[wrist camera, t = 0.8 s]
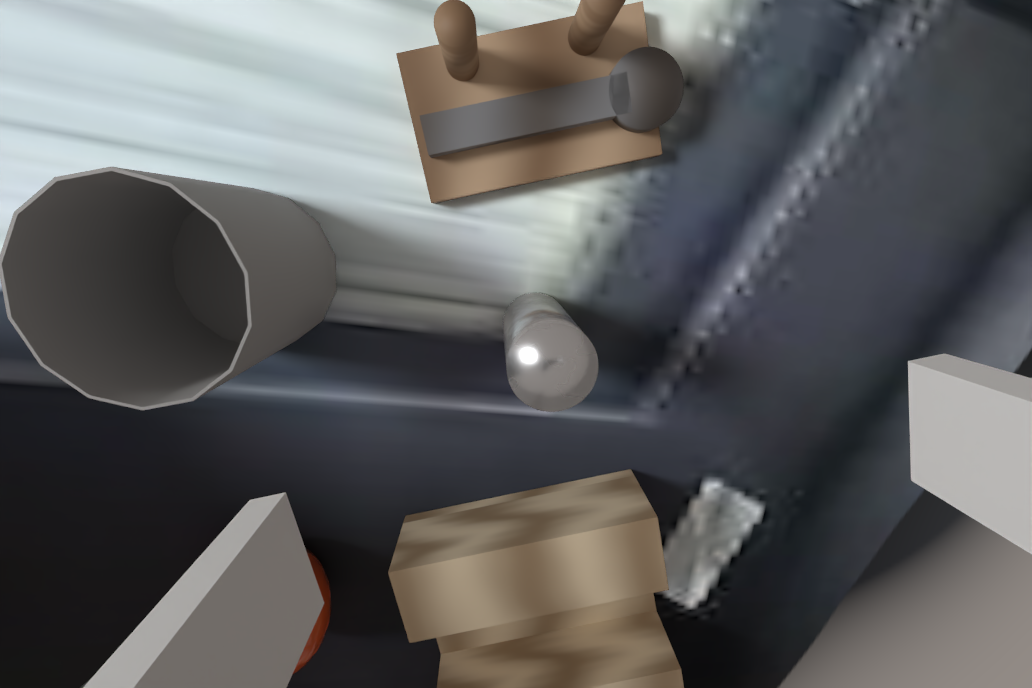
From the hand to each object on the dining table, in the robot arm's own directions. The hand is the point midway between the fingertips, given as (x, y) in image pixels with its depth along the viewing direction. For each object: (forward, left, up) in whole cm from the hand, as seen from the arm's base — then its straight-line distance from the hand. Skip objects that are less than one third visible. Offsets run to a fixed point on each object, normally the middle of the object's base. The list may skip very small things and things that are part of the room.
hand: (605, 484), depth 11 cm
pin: (0, 0, -18) cm, 18 cm away
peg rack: (+2, +11, -18) cm, 21 cm away
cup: (-14, +6, -19) cm, 24 cm away
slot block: (-3, -17, -18) cm, 25 cm away
